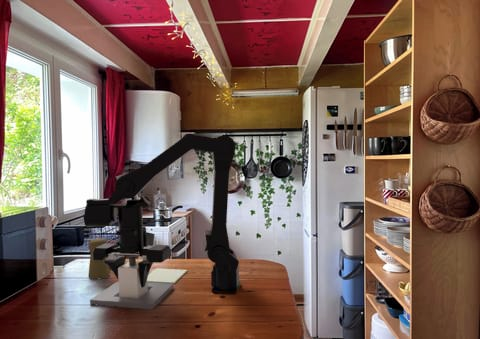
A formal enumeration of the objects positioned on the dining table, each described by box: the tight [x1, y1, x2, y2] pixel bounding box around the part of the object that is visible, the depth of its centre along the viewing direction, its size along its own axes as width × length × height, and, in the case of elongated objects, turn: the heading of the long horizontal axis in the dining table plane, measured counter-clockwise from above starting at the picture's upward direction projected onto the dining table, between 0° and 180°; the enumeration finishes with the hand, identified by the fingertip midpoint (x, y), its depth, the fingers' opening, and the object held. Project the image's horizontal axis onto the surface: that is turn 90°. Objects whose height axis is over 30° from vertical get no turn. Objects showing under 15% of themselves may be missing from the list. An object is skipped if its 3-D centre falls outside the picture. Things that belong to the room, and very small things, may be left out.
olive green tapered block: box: [87, 237, 111, 280], centre depth 99 cm, size 6×6×11 cm
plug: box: [117, 256, 148, 298], centre depth 83 cm, size 5×5×10 cm
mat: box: [147, 268, 188, 285], centre depth 97 cm, size 10×10×1 cm
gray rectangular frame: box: [89, 281, 174, 310], centre depth 84 cm, size 16×12×1 cm
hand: (133, 286), depth 83 cm, fingers closed on plug, 5 cm apart
